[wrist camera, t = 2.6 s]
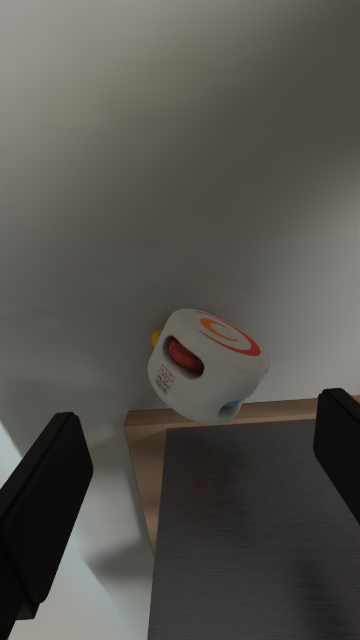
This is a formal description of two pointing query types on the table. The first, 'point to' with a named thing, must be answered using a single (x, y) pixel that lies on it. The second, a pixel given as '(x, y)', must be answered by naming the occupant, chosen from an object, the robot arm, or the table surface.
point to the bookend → (252, 539)
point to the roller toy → (204, 366)
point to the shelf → (151, 426)
